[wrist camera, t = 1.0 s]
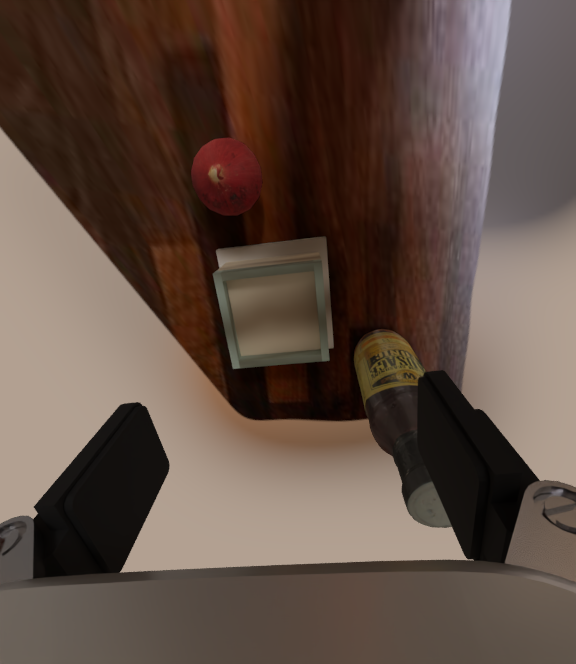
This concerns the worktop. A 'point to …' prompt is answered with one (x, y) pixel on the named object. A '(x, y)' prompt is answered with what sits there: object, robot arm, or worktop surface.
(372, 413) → the sauce bottle
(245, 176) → the onion
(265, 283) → the open box
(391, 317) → the worktop surface
